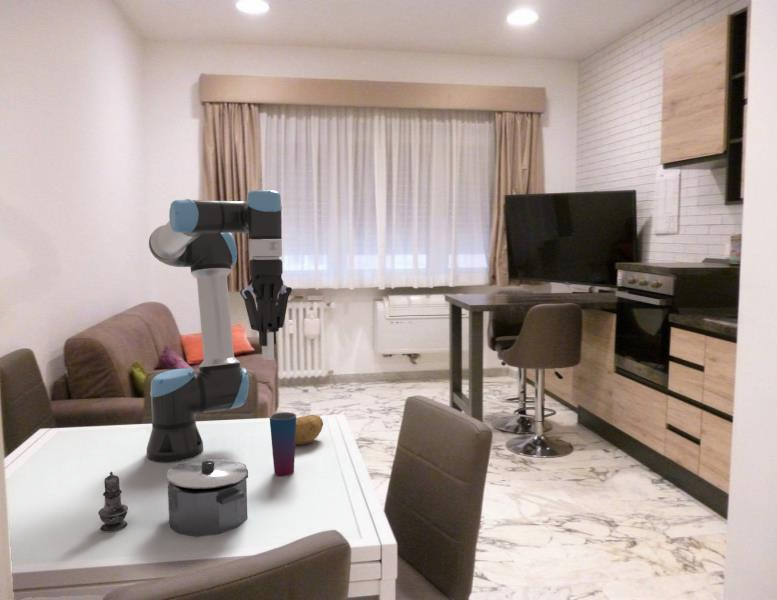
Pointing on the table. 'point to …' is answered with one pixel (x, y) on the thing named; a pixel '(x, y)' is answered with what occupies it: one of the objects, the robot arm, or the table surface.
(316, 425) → the potato
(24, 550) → the table surface
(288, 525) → the table surface
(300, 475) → the table surface
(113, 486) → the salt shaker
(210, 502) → the pot
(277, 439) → the cup
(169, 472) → the lid
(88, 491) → the table surface
